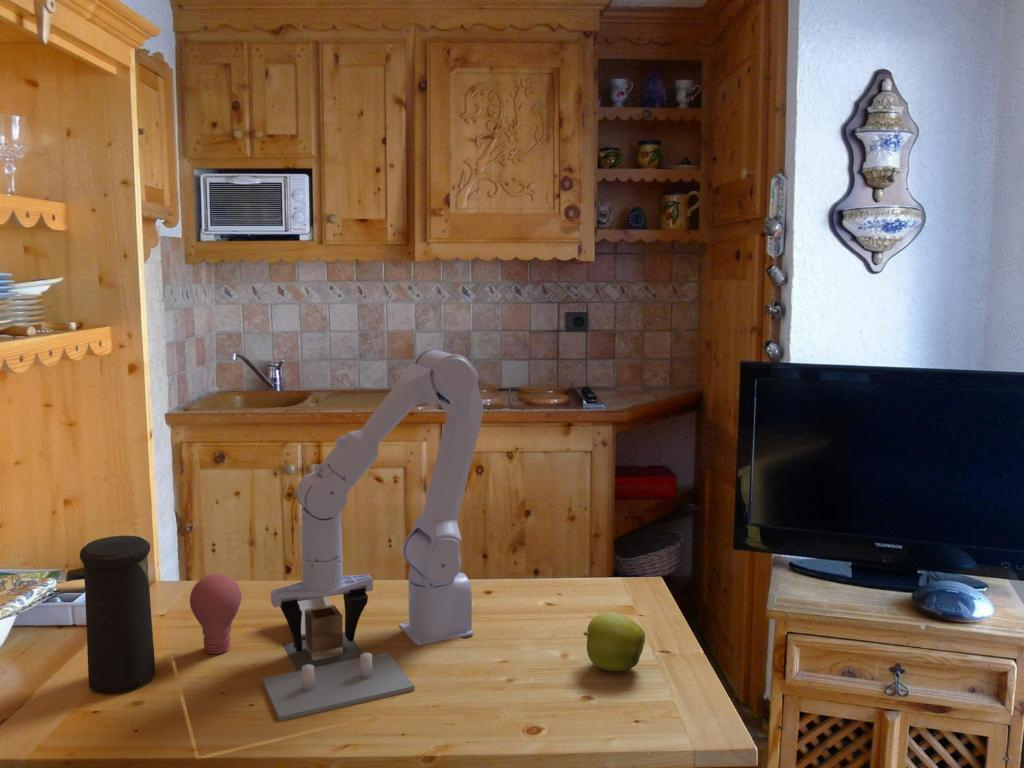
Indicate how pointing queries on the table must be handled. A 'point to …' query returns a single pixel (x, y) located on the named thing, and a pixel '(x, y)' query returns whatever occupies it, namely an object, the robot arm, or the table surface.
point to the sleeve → (323, 632)
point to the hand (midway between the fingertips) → (324, 643)
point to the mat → (304, 658)
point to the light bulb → (215, 609)
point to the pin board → (335, 685)
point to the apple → (614, 641)
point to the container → (118, 614)
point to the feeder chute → (309, 605)
